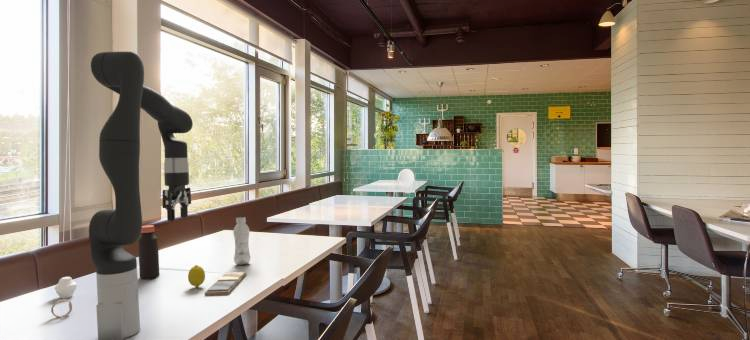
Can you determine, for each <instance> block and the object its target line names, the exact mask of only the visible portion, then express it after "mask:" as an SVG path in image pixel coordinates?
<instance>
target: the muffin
mask: <svg viewBox="0 0 750 340" xmlns="http://www.w3.org/2000/svg"><path fill="white" fill-rule="evenodd" d="M77 286H78V284H77V282H75V281H74V280H73V278H72V277H71V276H63V277H61V278H60V279H59V280H58V283H57V284H56V285H55V286H54V290H55V293H56V294H57V296H59V298H60V299H68V298H71V297H72V296H73V295H74V293H75V291H76V289H77Z"/></svg>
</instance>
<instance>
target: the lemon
mask: <svg viewBox="0 0 750 340" xmlns="http://www.w3.org/2000/svg"><path fill="white" fill-rule="evenodd" d="M187 279H188V283H189V284H190V285H191V286H194V287H195V288H199V286H201V285H202V284H204V282H205V279H206V274H205V270H204V268H203V267H202V266H199V265H197V264H196V265H194V266H192V267H190V269H189V271H188V275H187Z"/></svg>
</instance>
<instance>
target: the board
mask: <svg viewBox="0 0 750 340" xmlns="http://www.w3.org/2000/svg"><path fill="white" fill-rule="evenodd" d="M246 277H247V272H244V271H240V272H239V271H238V272H237V271H236V272H234V271H233V272H225V273H224V274H223V275H222V276H221V277H220V278H219V279H217V281H215V282H214V283H213V284H212V285H211V286H209V288H207V290H206V291H205V292H204V296H223V295H224V296H227V295H230V294H232V292H233V290H235V288H237V286H238V285H239V284H240V283H241V282H242V281H243V280H244V278H246Z"/></svg>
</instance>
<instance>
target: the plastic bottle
mask: <svg viewBox="0 0 750 340" xmlns="http://www.w3.org/2000/svg"><path fill="white" fill-rule="evenodd" d="M235 223H236V224H235V226H234V228H233V231H232V232H233V238H234V246H235V247H234V256H233V262H234V263H235V265H236V266H237V265H238V266H239V265H240V266H244V265H248V264H249V263H250V261H251V253H250V247H249V238H250V227H249V226H248V224H246V223H247V220H246V217H245V216H243V217H241V216H239V217H236V218H235Z"/></svg>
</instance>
